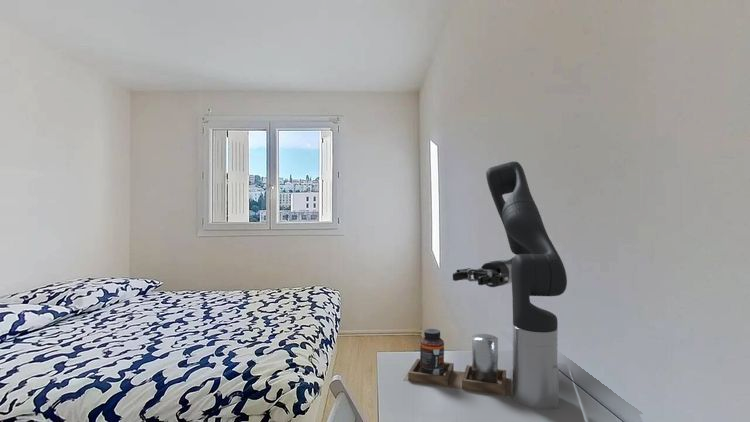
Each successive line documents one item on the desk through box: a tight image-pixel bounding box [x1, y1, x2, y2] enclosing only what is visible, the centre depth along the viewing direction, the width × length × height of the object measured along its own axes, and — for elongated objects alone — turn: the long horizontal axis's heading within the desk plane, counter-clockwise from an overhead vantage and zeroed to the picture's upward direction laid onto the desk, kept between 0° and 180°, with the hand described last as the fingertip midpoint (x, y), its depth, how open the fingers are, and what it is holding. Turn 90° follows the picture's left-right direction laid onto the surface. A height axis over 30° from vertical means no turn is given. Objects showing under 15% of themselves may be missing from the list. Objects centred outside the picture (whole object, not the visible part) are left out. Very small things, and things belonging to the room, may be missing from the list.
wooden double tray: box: [403, 358, 512, 398], centre depth 97 cm, size 25×10×3 cm, turn 70°
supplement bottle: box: [419, 328, 445, 376], centre depth 100 cm, size 6×6×11 cm
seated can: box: [471, 333, 499, 384], centre depth 95 cm, size 6×6×11 cm
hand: (466, 279), depth 109 cm, fingers open, 8 cm apart
